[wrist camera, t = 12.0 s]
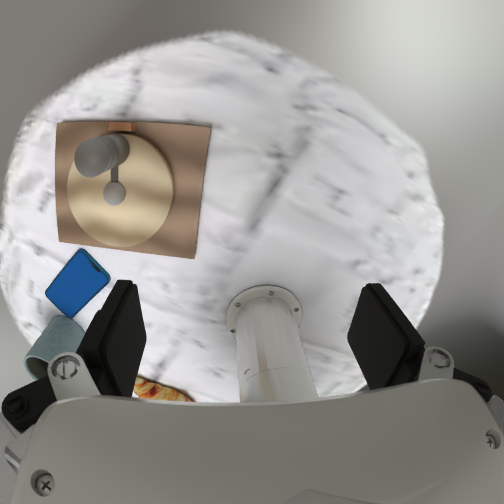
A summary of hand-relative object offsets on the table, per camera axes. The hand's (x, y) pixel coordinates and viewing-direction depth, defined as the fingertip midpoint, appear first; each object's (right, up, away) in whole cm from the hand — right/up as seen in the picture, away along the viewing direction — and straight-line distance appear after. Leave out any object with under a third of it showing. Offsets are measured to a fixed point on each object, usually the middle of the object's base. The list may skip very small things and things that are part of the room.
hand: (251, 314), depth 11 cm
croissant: (-18, -30, +45) cm, 57 cm away
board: (-17, +11, +24) cm, 32 cm away
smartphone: (-30, -3, +31) cm, 44 cm away
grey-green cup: (-36, -14, +35) cm, 52 cm away
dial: (-17, +11, +23) cm, 31 cm away
